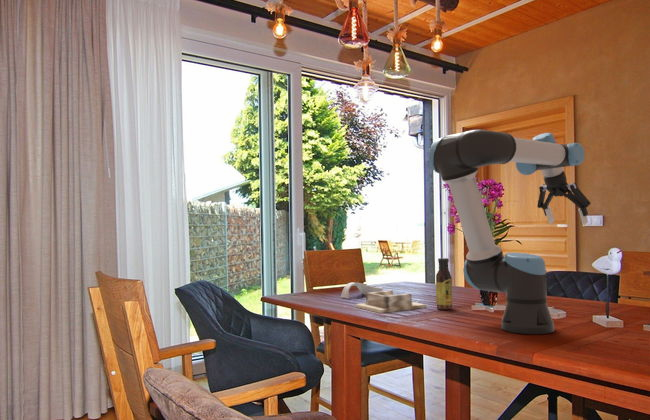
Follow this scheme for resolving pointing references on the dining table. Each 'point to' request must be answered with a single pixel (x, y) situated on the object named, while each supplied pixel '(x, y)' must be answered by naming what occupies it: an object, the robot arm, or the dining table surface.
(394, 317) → the dining table surface
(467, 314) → the dining table surface
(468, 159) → the robot arm
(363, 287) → the grey arched piece
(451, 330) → the dining table surface
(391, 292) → the U-rest
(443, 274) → the sauce bottle
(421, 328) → the dining table surface
